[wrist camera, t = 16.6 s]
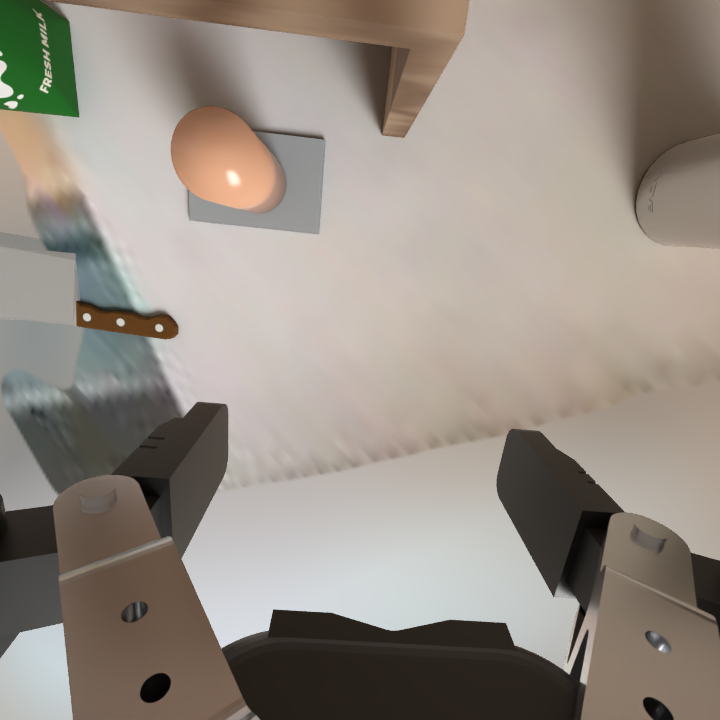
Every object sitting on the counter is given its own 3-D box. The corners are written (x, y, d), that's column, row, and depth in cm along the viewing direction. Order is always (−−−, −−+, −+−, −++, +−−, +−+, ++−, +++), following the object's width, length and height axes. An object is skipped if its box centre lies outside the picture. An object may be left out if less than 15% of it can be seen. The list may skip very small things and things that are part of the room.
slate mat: (325, 140, 36) (324, 139, 35) (319, 234, 38) (318, 234, 38) (188, 124, 35) (186, 123, 35) (191, 220, 38) (189, 220, 37)
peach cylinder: (286, 150, 36) (258, 108, 24) (286, 215, 37) (260, 204, 26) (224, 146, 35) (166, 103, 24) (227, 212, 37) (175, 200, 25)
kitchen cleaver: (177, 260, 38) (173, 360, 41) (181, 260, 39) (177, 357, 42) (-90, 218, 37) (-77, 324, 39) (-79, 219, 38) (-67, 322, 40)
